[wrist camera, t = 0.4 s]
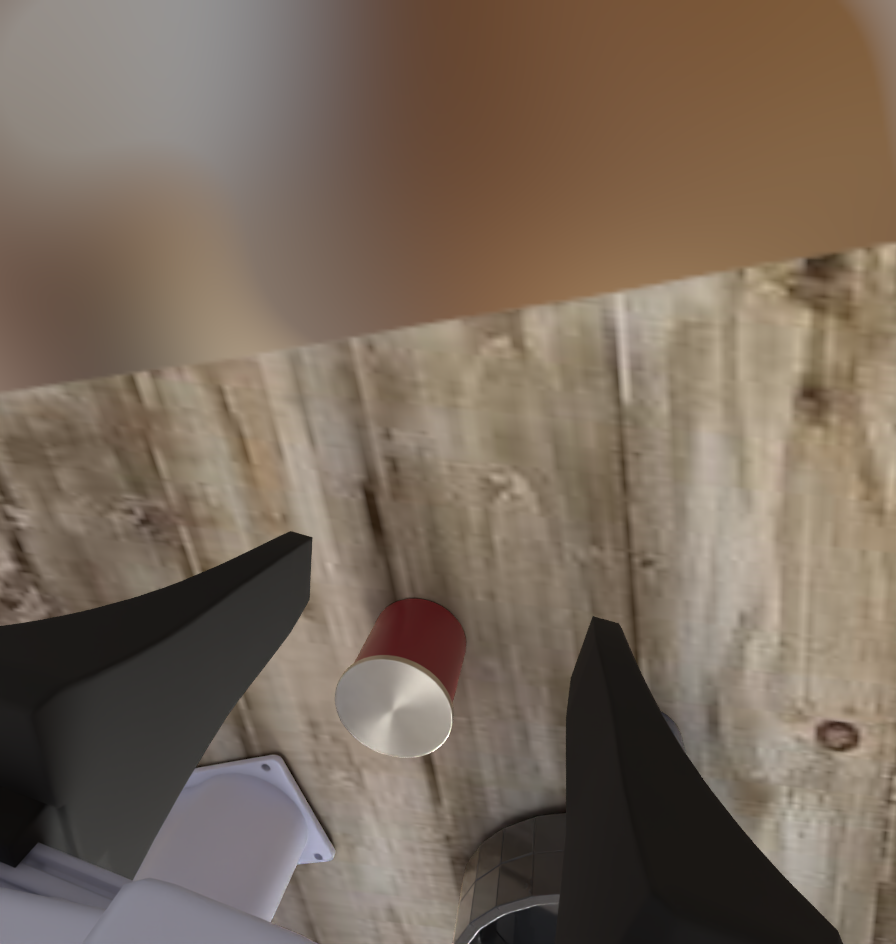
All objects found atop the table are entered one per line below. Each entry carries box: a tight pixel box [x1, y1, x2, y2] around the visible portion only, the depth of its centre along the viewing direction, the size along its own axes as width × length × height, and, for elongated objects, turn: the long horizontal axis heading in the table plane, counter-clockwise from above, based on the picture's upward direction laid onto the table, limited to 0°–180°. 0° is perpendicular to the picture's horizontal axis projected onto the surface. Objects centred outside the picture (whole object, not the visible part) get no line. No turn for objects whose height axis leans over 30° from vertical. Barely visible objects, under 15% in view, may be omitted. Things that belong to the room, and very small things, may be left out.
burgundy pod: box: [335, 598, 466, 758], centre depth 24 cm, size 5×5×5 cm
